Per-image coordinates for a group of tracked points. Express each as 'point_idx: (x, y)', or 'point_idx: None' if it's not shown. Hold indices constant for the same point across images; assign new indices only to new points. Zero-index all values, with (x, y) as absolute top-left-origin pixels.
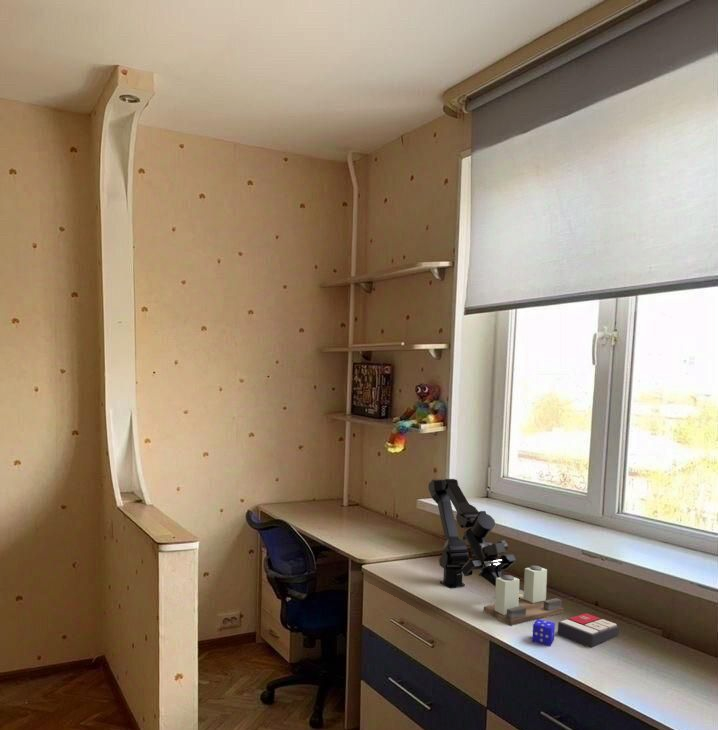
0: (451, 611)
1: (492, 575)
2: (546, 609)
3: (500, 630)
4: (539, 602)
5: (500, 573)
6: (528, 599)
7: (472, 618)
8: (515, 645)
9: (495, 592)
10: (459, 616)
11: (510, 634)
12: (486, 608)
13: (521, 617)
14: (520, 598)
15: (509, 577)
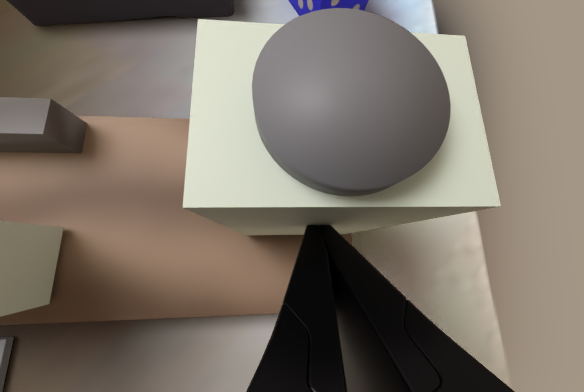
0: (492, 372)
1: (459, 367)
2: (82, 133)
3: None
4: None
5: (281, 369)
6: (48, 261)
7: (442, 258)
8: (430, 25)
9: (389, 225)
10: (485, 301)
11: None
12: None
13: None
14: (2, 380)
15: (354, 55)
